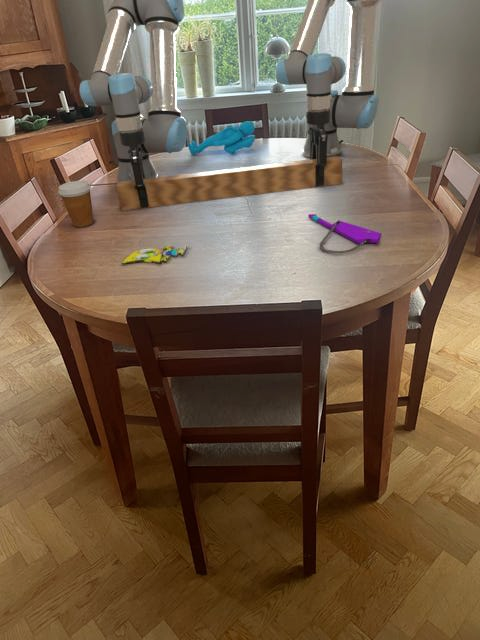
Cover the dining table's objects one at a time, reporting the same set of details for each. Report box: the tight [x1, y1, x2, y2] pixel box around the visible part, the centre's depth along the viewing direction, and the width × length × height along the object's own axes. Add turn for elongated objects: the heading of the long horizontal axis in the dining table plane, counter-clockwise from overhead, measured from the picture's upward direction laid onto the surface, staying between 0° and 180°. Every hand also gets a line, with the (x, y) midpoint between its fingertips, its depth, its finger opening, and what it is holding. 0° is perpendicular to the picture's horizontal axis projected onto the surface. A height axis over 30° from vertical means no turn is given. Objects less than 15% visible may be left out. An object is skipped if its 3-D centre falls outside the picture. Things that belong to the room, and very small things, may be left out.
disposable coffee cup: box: [58, 180, 95, 228], centre depth 147 cm, size 10×10×12 cm
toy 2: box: [187, 120, 256, 156], centre depth 208 cm, size 17×11×30 cm
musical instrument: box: [308, 213, 382, 254], centre depth 126 cm, size 24×2×20 cm
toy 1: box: [121, 245, 188, 265], centre depth 125 cm, size 10×1×15 cm
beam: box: [115, 155, 344, 212], centre depth 160 cm, size 74×4×8 cm, turn 98°
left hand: (145, 203), depth 159 cm, fingers closed on beam, 4 cm apart
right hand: (317, 183), depth 164 cm, fingers closed on beam, 4 cm apart
